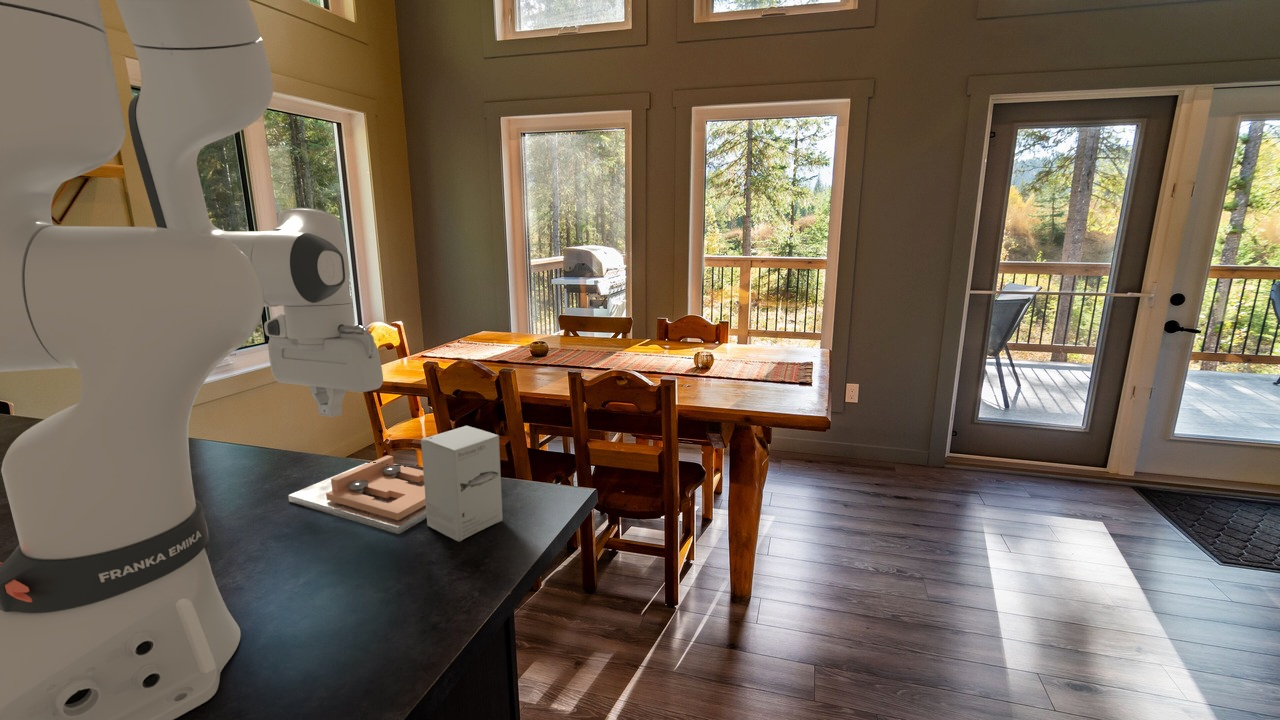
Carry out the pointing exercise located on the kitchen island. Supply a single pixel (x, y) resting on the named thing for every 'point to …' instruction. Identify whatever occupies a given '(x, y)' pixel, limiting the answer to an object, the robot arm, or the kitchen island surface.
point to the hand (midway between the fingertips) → (330, 415)
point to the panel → (380, 489)
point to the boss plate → (317, 500)
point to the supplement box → (462, 481)
